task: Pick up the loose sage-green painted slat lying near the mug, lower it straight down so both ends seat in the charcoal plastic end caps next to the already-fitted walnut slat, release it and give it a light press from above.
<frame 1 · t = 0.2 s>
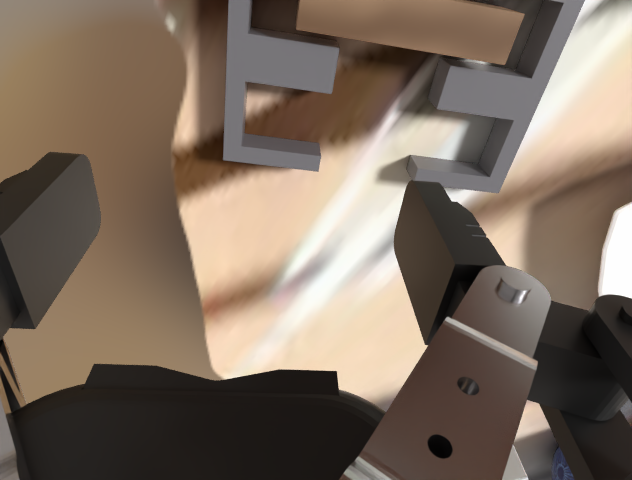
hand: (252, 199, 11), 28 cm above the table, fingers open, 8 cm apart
walnut slat: (396, 12, 35), resting in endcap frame
planter: (592, 440, 74), on the table
skincare box: (482, 410, 67), on the table
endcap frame: (383, 70, 37), on the table
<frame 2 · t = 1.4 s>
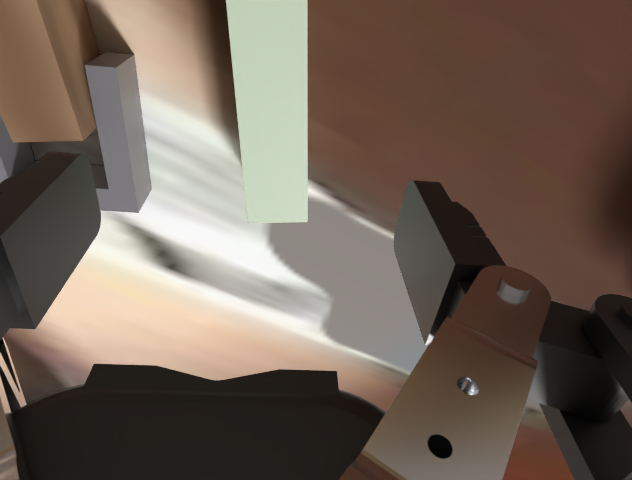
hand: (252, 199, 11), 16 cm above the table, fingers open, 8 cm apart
sage slat: (274, 57, 25), on the table
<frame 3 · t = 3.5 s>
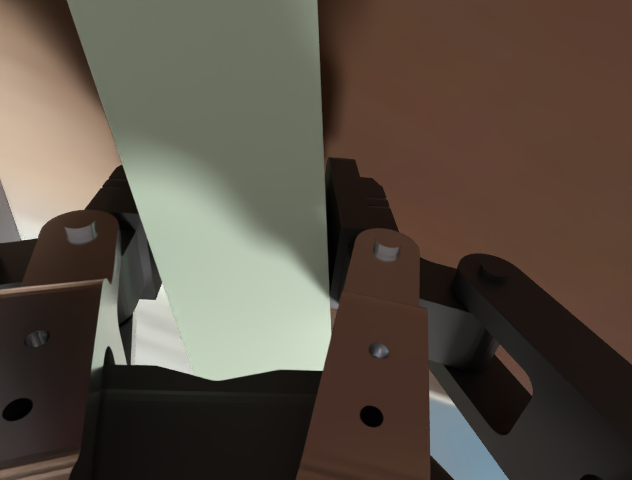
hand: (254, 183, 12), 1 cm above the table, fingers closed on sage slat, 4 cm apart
sage slat: (258, 162, 13), on the table, touching gripper
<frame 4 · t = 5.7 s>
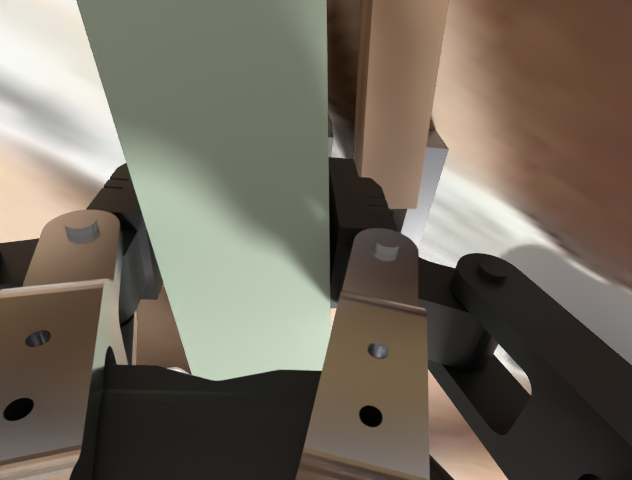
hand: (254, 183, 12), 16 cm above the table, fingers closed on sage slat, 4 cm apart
walnut slat: (387, 50, 26), resting in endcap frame
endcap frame: (311, 41, 25), on the table
sage slat: (260, 165, 13), point 15 cm above the table, touching gripper
when the fingers open (2 cm above the table, at t = 8.2 s): sage slat stays where it is, resting in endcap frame.
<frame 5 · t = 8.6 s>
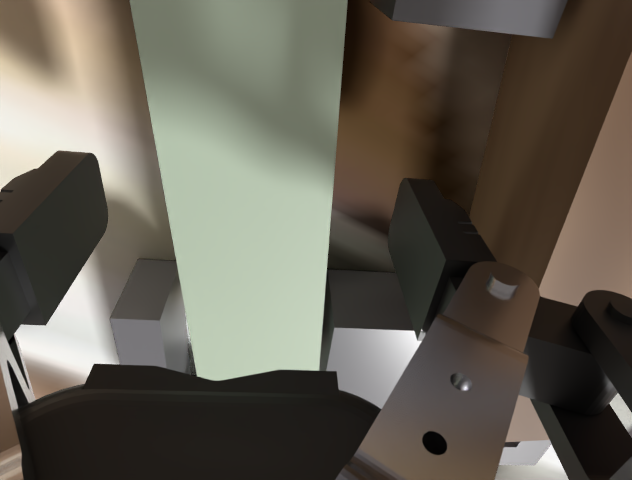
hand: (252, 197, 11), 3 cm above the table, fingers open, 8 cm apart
walnut slat: (526, 173, 15), resting in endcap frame
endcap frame: (398, 164, 14), on the table
sage slat: (263, 152, 14), resting in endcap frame
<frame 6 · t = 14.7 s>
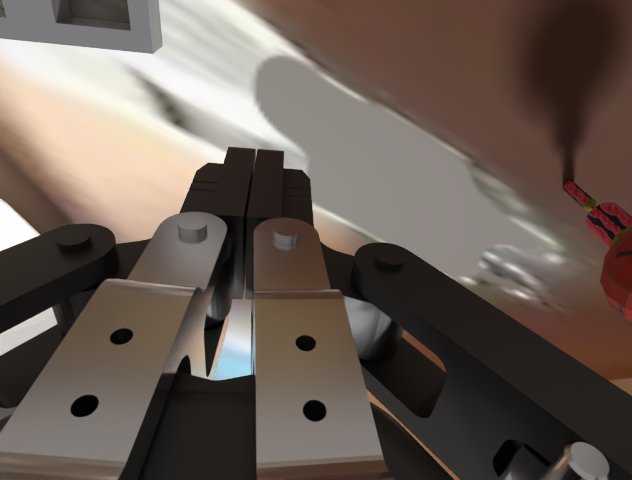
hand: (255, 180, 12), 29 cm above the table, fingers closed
lantern: (567, 184, 46), on the table
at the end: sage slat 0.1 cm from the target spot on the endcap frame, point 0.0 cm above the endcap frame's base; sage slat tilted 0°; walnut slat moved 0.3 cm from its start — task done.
